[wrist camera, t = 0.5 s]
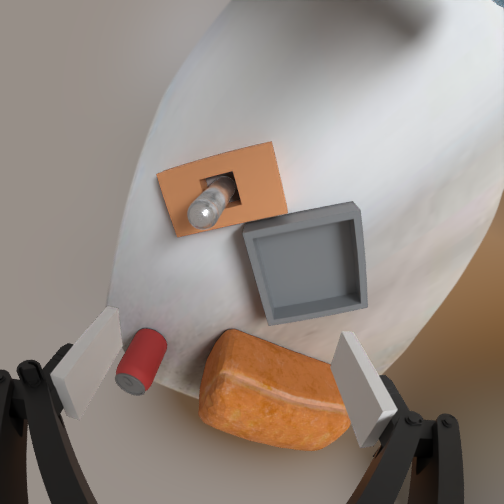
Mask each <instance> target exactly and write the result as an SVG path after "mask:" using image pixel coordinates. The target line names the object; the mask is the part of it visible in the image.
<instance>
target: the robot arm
mask: <svg viewBox="0 0 504 504" xmlns="http://www.w3.org/2000/svg"><path fill="white" fill-rule="evenodd" d="M492 1H493V2H495V3H496V4H497V5H499V6H501V7H504V0H492ZM122 346H123V344H122V337H121V328H120V319H119V310H118V308H115V307H110V306H107V307H106V308H105V309H104V310H103V311H102V312H101V313H100V315H99V316H98V317H97V318H96V319H95V320H94V322H93V323H92V324H91V325H90V326H89V327H88V328H87V330H86V331H85V332H84V333H83V334H82V336H81V337H80V338H79V339H78V340H77V342H76V343H75V344H74V345H73V344H69V343H68V344H66V345H64V346H62V347H61V348H60V349H59V350H58V351H57V352H56V354H55V355H54V356H53V357H52V359H50V361H49V362H48V363H47V364H46V366H45V367H44V368H43V369H42V368H41V365H40V363H38V362H37V361H35V360H26V361H23V362H22V363H20V364H19V365H18V367H17V373H18V376H19V378H20V380H17V379H12V378H11V376H10V374H9V372H7V371H6V370H0V504H28V493H27V473H26V450H27V428H28V427H27V426H28V425H29V430H30V435H31V439H32V444H33V448H34V452H35V455H36V459H37V462H38V466H39V469H40V473H41V476H42V479H43V482H44V485H45V487H46V491H47V493H48V496H49V498H50V501H51V504H97V501H96V499H95V498H94V496H93V494H92V492H91V490H90V488H89V485H88V483H87V481H86V479H85V477H84V475H83V472H82V470H81V468H80V465H79V463H78V461H77V458H76V456H75V453H74V451H73V448H72V445H71V443H70V440H69V437H68V434H67V431H66V428H65V425H64V422H63V419H62V416H61V414H60V413H61V411H62V410H63V408H64V410H65V412H66V415H67V416H69V417H72V418H74V419H77V420H80V419H81V417H82V416H83V414H84V412H85V410H86V408H87V406H88V404H89V403H90V401H91V399H92V398H93V396H94V394H95V392H96V390H97V389H98V387H99V385H100V383H101V382H102V380H103V378H104V376H105V375H106V373H107V371H108V370H109V368H110V366H111V365H112V363H113V361H114V359H115V358H116V356H117V355H118V353H119V351H120V350H121V348H122ZM330 368H331V371H332V373H333V376H334V379H335V381H336V384H337V387H338V389H339V392H340V394H341V397H342V400H343V402H344V405H345V408H346V410H347V413H348V416H349V419H350V421H351V424H352V427H353V430H354V432H355V435H356V438H357V440H358V443H359V446H360V448H365V447H371V446H374V445H375V444H376V442H377V441H378V439H379V440H380V442H381V446H380V447H379V448H378V450H377V451H376V453H375V454H374V455H373V457H374V458H373V460H372V462H371V464H370V466H369V467H368V469H367V471H366V473H365V474H364V476H363V478H362V480H361V481H360V483H359V485H358V486H357V488H356V489H355V491H354V493H353V494H352V496H351V497H350V499H349V500H348V502H347V503H346V504H394V502H395V500H396V498H397V495H398V493H399V491H400V489H401V486H402V484H403V482H404V479H405V477H406V474H407V472H408V470H409V467H410V464H411V462H412V472H411V481H410V490H409V497H408V504H464V479H463V460H462V449H461V440H460V432H459V425H458V422H457V420H456V418H455V417H453V416H452V415H450V414H441V415H439V417H438V418H437V419H436V421H433V420H423V418H422V417H421V415H420V414H418V413H416V412H413V411H409V409H408V407H407V406H406V404H405V402H404V400H403V399H402V397H401V395H400V394H399V392H398V390H397V389H396V387H395V385H394V384H393V382H392V380H390V379H389V378H388V377H387V376H386V375H378V373H377V372H376V370H375V368H374V366H373V365H372V363H371V361H370V359H369V358H368V356H367V354H366V353H365V351H364V349H363V347H362V346H361V344H360V342H359V341H358V339H357V337H356V336H355V334H354V332H341V335H340V339H339V342H338V345H337V348H336V351H335V354H334V357H333V360H332V363H331V366H330Z"/></svg>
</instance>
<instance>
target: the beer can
mask: <svg viewBox="0 0 504 504" xmlns="http://www.w3.org/2000/svg"><path fill="white" fill-rule="evenodd" d="M166 350H167V343H166V340H165V339H164V337H163V336H162V335H161V334H160V333H158V332H156V331H155V330H152V329H141V330H139V331H138V332H137V333H136V335H135V336H134V338H133V340H132V342H131V343H130V345H129V347H128V349H127V350H126V352H125V354H124V356H123V357H122V359H121V361H120V363H119V365H118V367H117V370H116V377H115V381H116V383H117V385H118V386H119V387H120V388H121V389H123V390H124V391H126V392H127V393H129V394H132V395H137V396H139V395H143V394H144V393H145V391H146V390H148V389H149V387H150V386H151V384H152V382H153V380H154V378H155V375H156V373H157V371H158V368H159V366H160V364H161V361H162V359H163V357H164V354H165V352H166Z"/></svg>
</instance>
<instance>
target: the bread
mask: <svg viewBox="0 0 504 504" xmlns="http://www.w3.org/2000/svg"><path fill="white" fill-rule="evenodd" d="M330 366H331V365H330V364H327V363H325V362H322V361H319V360H316V359H314V358H311V357H308V356H305V355H302V354H299V353H297V352H294V351H291V350H288V349H286V348H283V347H281V346H278V345H275V344H273V343H270V342H267V341H265V340H262V339H260V338H257V337H254V336H251V335H249V334H246V333H244V332H241V331H238V330H236V329H229V330H227V331H225V332H224V333H223V334H222V335H221V337H220V338H219V339H218V340H217V341H216V343H215V345H214V347H213V349H212V351H211V352H210V354H209V356H208V358H207V361H206V364H205V368H204V373H203V377H202V381H201V385H200V394H199V413H198V414H199V417H200V418H201V419H202V421H203V422H204V423H206V424H208V425H210V426H212V427H214V428H216V429H219V430H221V431H224V432H227V433H229V434H232V435H235V436H238V437H241V438H244V439H247V440H250V441H254V442H259V443H264V444H268V445H272V446H277V447H282V448H290V449H295V450H306V451H315V450H320V449H322V448H324V447H326V446H327V445H329V444H331V443H332V442H334V441H335V440H336V439H337V438H339V437H340V436H341V435H342V434H343V433H344V432H345V431H346V430H347V429H348V428H349V426H350V424H351V421H350V419H349V416H348V413H347V410H346V408H345V405H344V402H343V400H342V397H341V394H340V392H339V389H338V387H337V384H336V381H335V379H334V376H333V373H332V371H331V368H330Z"/></svg>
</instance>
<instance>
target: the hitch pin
mask: <svg viewBox="0 0 504 504" xmlns="http://www.w3.org/2000/svg"><path fill="white" fill-rule="evenodd" d="M235 189H236V186H235V183H234V181H233V180H232V179H231V178H230V177H227V176H222V177H219V178H218V179H216V180H215V181H214V182H213V183H212V184H211V185H210V186H209V187H208V188H207V189H206V190H205V191H204V192H203V193H202V194H201V195H200V196H198V197H197V198H196V199H195V200H194V201H193V202H192V203H191V205H190V206H189V208H188V212H187V216H188V220H189V222H190V224H191V225H192V226H193V227H195V228H197V229H200V230H206V229H209V228H211V227H213V226H214V225H215V224H216V222H217V221H218V219H219V217H220V215H221V214H222V212H223V210H224V209H225V207H226V205H227V204H228V202H229V200H230V199H231V197H232V195H233V194H234V192H235Z"/></svg>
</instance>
